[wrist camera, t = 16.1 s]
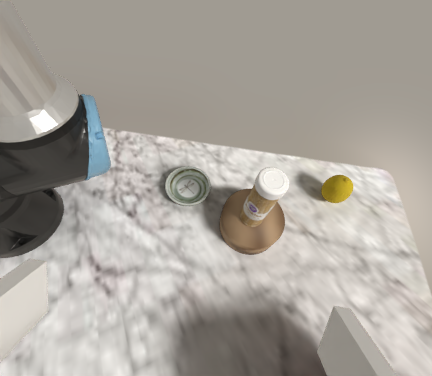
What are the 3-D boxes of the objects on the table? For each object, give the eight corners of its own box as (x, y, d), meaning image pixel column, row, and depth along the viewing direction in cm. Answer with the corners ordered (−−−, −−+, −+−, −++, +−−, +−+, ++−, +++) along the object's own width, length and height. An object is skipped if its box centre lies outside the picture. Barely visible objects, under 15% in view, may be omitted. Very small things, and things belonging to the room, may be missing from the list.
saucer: (194, 218, 48) (194, 213, 45) (156, 195, 49) (155, 189, 47) (217, 185, 52) (219, 179, 50) (182, 165, 54) (182, 159, 52)
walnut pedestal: (215, 249, 45) (218, 242, 40) (223, 195, 51) (226, 184, 46) (276, 259, 45) (285, 252, 41) (276, 204, 51) (284, 194, 47)
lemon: (311, 189, 54) (329, 171, 47) (331, 185, 55) (351, 166, 48) (322, 210, 51) (343, 194, 44) (343, 205, 52) (366, 188, 46)
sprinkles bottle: (235, 219, 43) (252, 182, 31) (246, 201, 45) (266, 160, 33) (256, 232, 42) (282, 200, 30) (267, 213, 44) (295, 176, 32)
